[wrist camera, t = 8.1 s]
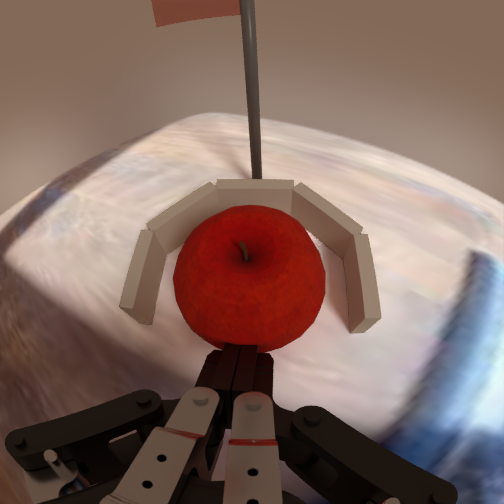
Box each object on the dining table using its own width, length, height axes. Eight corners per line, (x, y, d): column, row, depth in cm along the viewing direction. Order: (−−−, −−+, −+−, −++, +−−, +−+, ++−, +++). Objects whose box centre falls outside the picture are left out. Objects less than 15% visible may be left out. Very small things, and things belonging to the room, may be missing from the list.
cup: (364, 332, 16) (555, 42, 1) (138, 322, 17) (-56, 82, 2) (342, 189, 23) (379, -19, 7) (175, 187, 24) (121, -7, 9)
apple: (227, 239, 20) (210, 161, 14) (329, 275, 18) (357, 201, 12) (172, 333, 17) (119, 282, 10) (287, 385, 15) (302, 367, 8)
